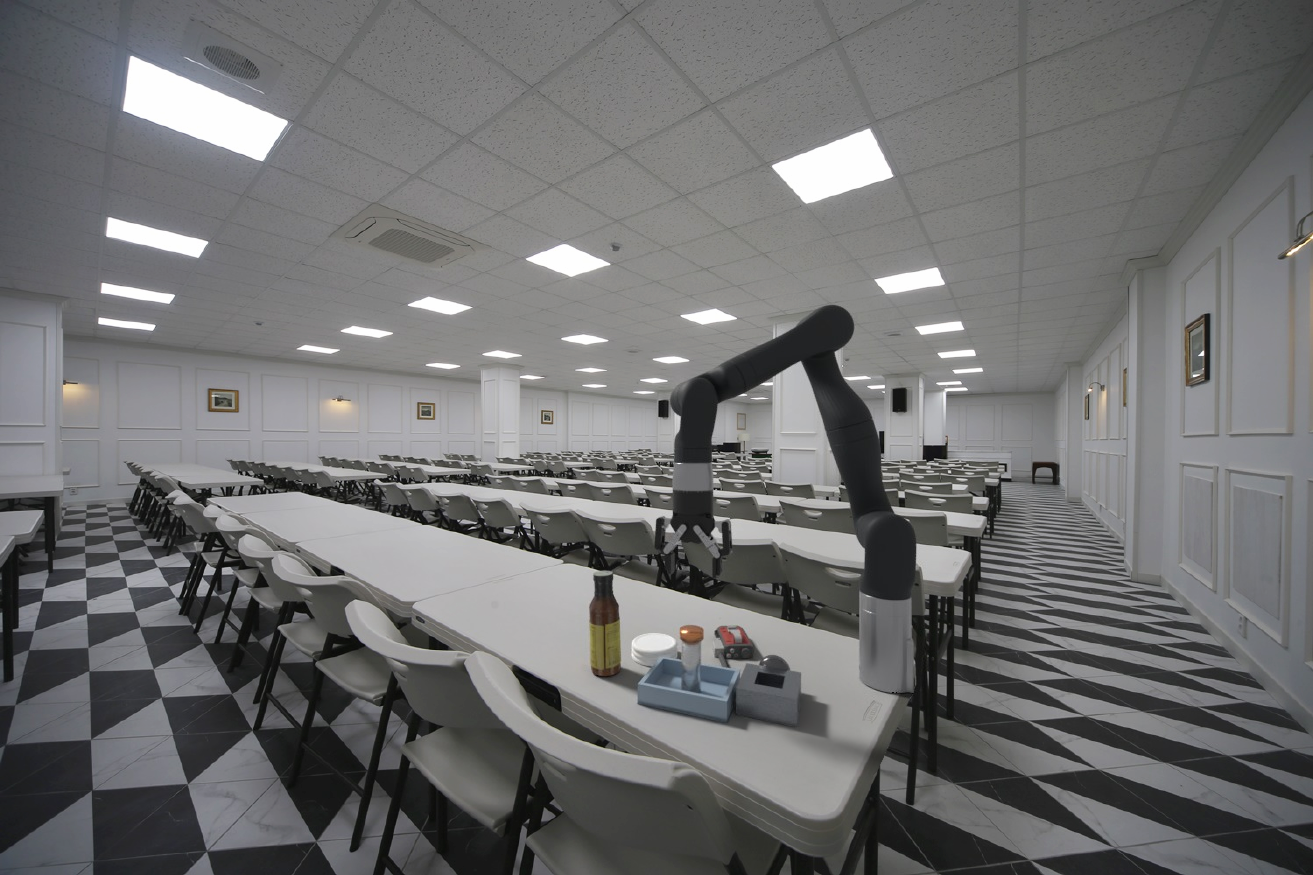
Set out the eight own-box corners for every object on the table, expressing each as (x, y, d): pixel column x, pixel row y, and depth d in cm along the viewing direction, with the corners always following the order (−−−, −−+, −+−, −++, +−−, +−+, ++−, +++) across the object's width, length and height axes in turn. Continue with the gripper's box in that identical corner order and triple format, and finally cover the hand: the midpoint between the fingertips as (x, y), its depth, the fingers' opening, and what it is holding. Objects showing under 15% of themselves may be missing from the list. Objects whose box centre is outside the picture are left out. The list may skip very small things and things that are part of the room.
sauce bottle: (621, 663, 100) (622, 568, 100) (620, 678, 93) (621, 576, 94) (590, 663, 99) (591, 568, 100) (586, 678, 93) (587, 576, 93)
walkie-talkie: (706, 636, 115) (721, 676, 95) (706, 618, 115) (721, 654, 95) (742, 636, 115) (764, 675, 95) (742, 618, 116) (764, 653, 96)
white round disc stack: (685, 654, 105) (685, 638, 105) (661, 672, 96) (661, 655, 96) (648, 644, 110) (648, 628, 110) (622, 660, 102) (622, 643, 102)
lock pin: (705, 689, 88) (706, 626, 88) (699, 700, 84) (700, 635, 84) (683, 684, 90) (683, 623, 90) (675, 696, 86) (676, 632, 86)
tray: (740, 688, 90) (740, 669, 90) (726, 722, 78) (726, 701, 78) (660, 673, 95) (660, 656, 95) (637, 703, 84) (637, 683, 84)
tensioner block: (801, 691, 89) (801, 658, 89) (797, 727, 77) (797, 690, 78) (748, 681, 92) (748, 650, 92) (736, 714, 81) (736, 679, 81)
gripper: (735, 486, 89) (735, 574, 88) (663, 484, 94) (663, 567, 93) (726, 490, 82) (726, 584, 81) (649, 487, 87) (649, 576, 86)
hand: (692, 575), depth 87 cm, fingers open, 8 cm apart
